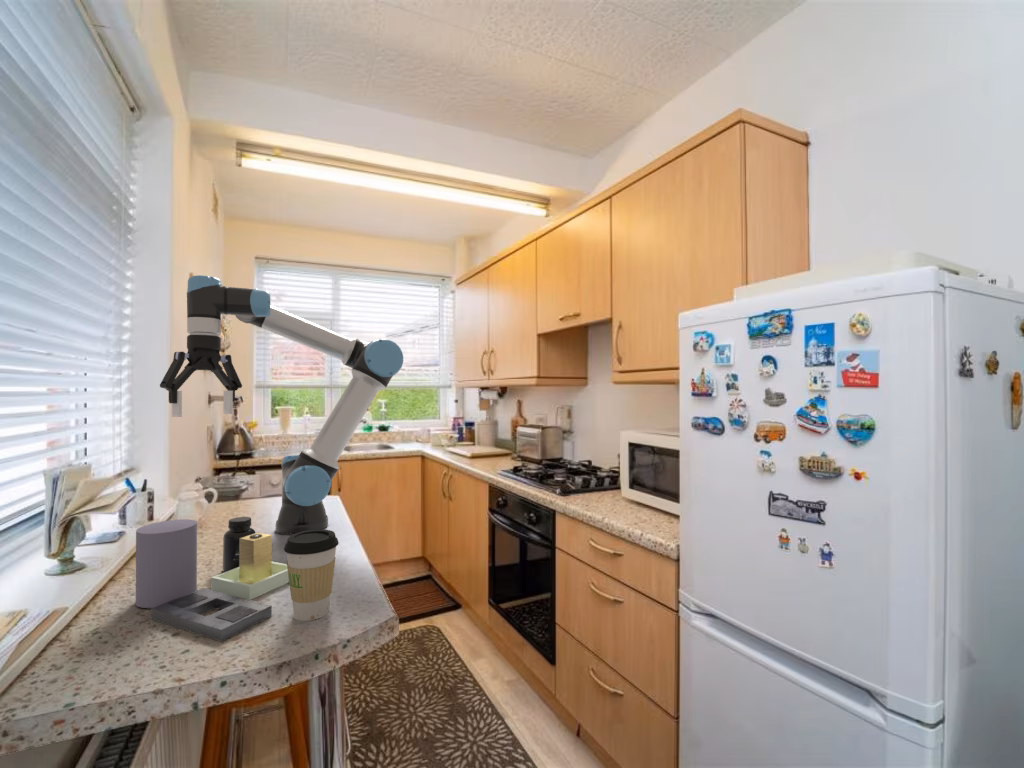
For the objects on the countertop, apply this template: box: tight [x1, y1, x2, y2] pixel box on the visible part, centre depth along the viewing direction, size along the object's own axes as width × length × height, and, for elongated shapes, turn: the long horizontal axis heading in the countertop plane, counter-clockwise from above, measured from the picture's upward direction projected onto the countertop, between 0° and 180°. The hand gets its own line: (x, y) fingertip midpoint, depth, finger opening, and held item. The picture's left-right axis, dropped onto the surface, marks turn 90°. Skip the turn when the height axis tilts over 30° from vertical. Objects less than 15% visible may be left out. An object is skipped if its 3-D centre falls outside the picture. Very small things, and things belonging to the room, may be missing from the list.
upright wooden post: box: [239, 532, 273, 584], centre depth 105 cm, size 4×4×10 cm
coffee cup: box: [283, 529, 339, 622], centre depth 91 cm, size 10×10×15 cm
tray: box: [210, 560, 289, 600], centre depth 105 cm, size 12×12×3 cm
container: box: [135, 518, 198, 610], centre depth 98 cm, size 10×10×15 cm
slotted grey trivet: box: [150, 587, 273, 642], centre depth 90 cm, size 10×20×2 cm, turn 67°
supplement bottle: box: [222, 516, 256, 573], centre depth 114 cm, size 7×7×12 cm
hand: (203, 415), depth 125 cm, fingers open, 13 cm apart
